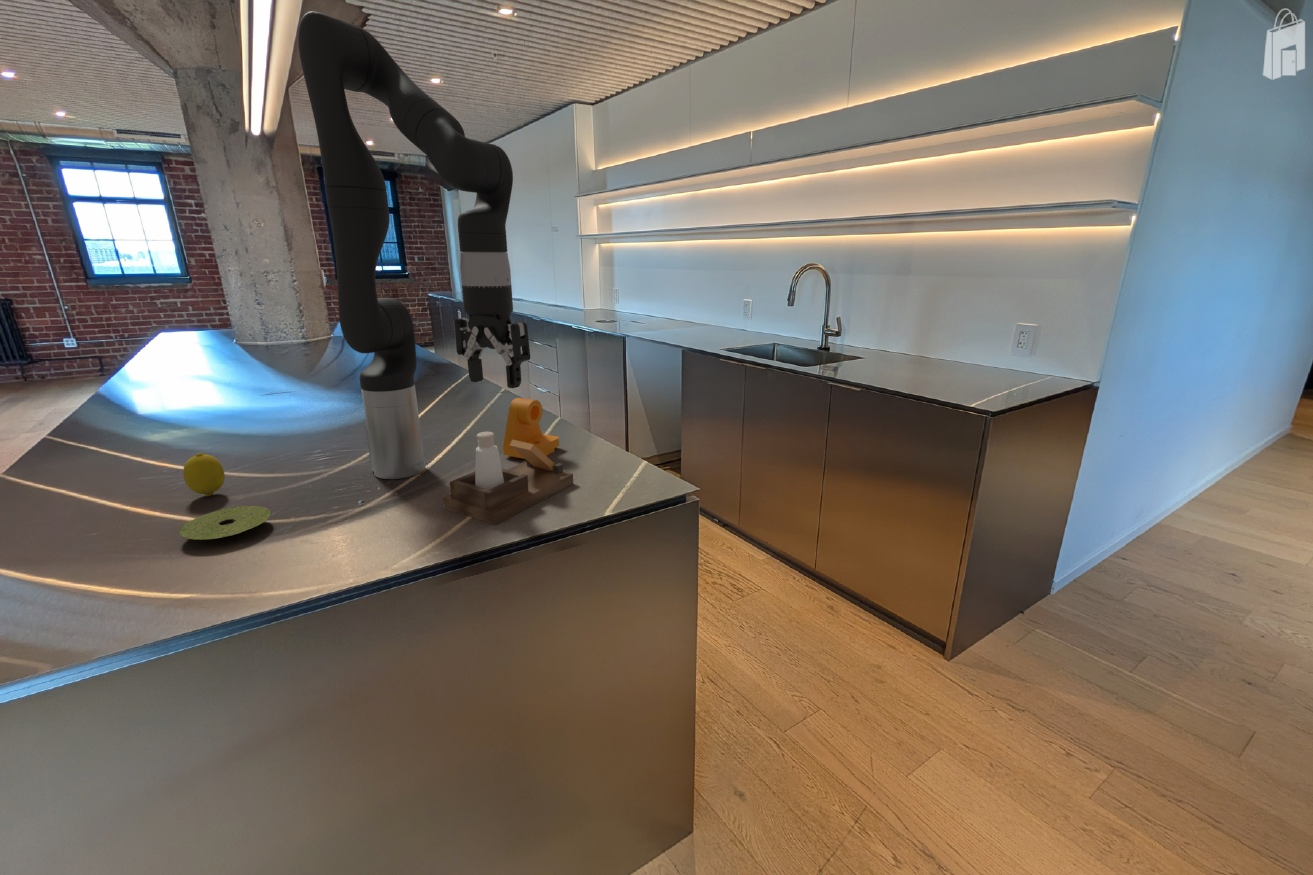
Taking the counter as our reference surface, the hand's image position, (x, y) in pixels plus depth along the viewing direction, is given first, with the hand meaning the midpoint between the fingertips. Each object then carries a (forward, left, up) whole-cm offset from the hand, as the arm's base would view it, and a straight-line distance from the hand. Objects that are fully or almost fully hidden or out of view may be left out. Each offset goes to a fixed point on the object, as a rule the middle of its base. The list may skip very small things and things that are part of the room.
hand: (495, 384), depth 93 cm
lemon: (-45, -26, -21) cm, 56 cm away
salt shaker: (0, -3, -19) cm, 19 cm away
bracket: (-12, +21, -21) cm, 32 cm away
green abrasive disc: (-27, -31, -21) cm, 46 cm away
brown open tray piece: (0, +2, -21) cm, 21 cm away
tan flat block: (0, +8, -16) cm, 18 cm away
